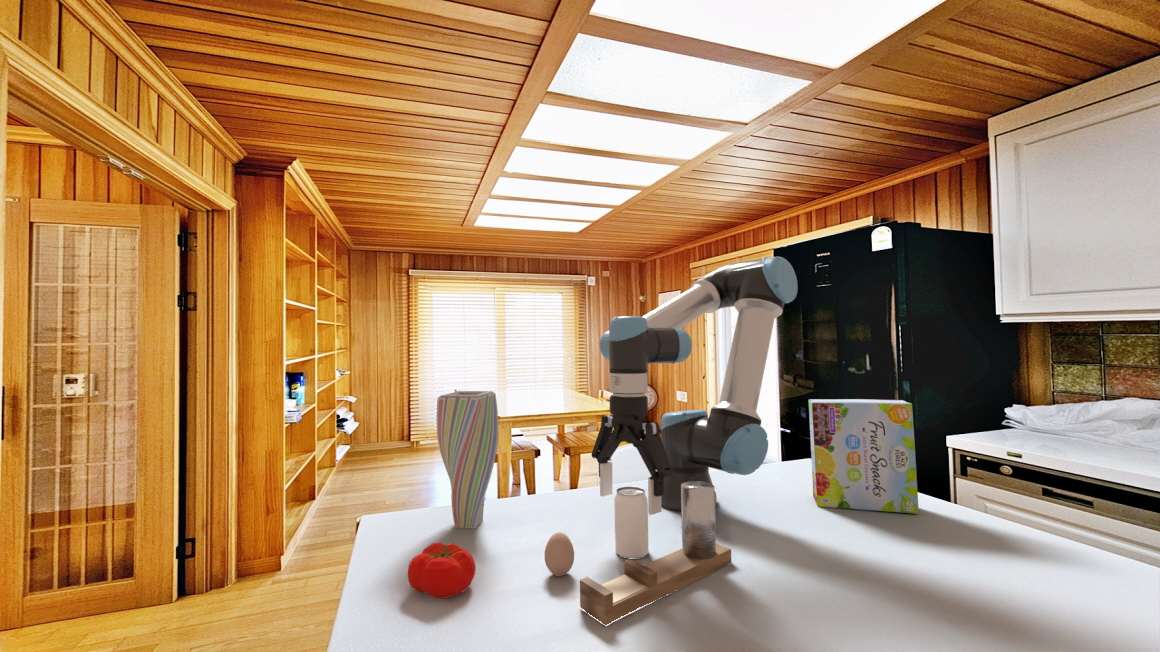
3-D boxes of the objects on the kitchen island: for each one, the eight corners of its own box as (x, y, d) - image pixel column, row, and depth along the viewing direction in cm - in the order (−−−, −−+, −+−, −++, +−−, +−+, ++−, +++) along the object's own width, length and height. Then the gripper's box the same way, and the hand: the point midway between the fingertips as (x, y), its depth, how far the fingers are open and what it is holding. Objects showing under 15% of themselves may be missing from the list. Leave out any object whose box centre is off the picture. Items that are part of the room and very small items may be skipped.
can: (647, 561, 90) (646, 496, 90) (613, 558, 91) (612, 495, 91) (649, 546, 96) (648, 486, 96) (617, 544, 97) (616, 485, 98)
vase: (506, 514, 115) (505, 389, 116) (485, 537, 102) (484, 396, 103) (454, 511, 118) (452, 389, 119) (427, 533, 104) (426, 396, 105)
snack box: (908, 503, 118) (904, 399, 118) (920, 516, 109) (915, 403, 110) (811, 496, 125) (807, 397, 125) (815, 507, 116) (812, 401, 117)
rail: (580, 609, 74) (579, 579, 74) (704, 551, 93) (704, 528, 93) (605, 627, 69) (605, 595, 69) (731, 562, 88) (730, 538, 89)
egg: (576, 580, 83) (576, 537, 83) (546, 583, 82) (545, 540, 82) (572, 566, 88) (571, 526, 88) (543, 569, 87) (542, 528, 88)
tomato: (442, 612, 74) (442, 569, 74) (397, 593, 80) (397, 554, 80) (486, 584, 82) (486, 546, 82) (442, 569, 88) (442, 533, 88)
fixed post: (675, 551, 88) (674, 485, 88) (696, 542, 92) (694, 479, 92) (702, 562, 83) (700, 493, 84) (723, 552, 87) (721, 486, 87)
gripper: (575, 391, 102) (575, 491, 101) (663, 401, 82) (664, 526, 81) (601, 389, 106) (602, 485, 106) (691, 398, 87) (692, 516, 86)
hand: (629, 503), depth 93 cm, fingers open, 13 cm apart
